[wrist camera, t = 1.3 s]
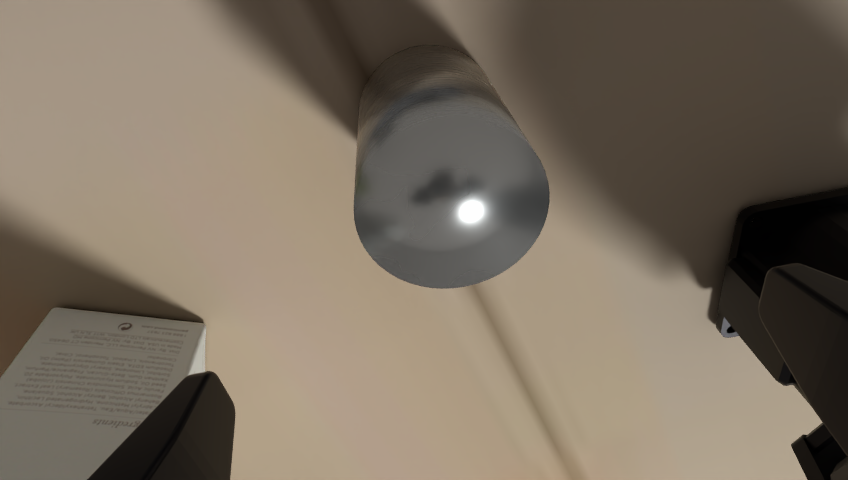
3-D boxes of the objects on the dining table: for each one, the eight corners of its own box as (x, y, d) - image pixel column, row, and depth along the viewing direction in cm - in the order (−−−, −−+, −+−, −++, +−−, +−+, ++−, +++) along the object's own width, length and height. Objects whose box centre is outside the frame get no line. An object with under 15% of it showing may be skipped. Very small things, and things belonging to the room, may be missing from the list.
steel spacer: (488, 31, 15) (545, 97, 10) (502, 164, 18) (552, 269, 13) (342, 61, 16) (329, 140, 11) (376, 189, 18) (377, 303, 13)
